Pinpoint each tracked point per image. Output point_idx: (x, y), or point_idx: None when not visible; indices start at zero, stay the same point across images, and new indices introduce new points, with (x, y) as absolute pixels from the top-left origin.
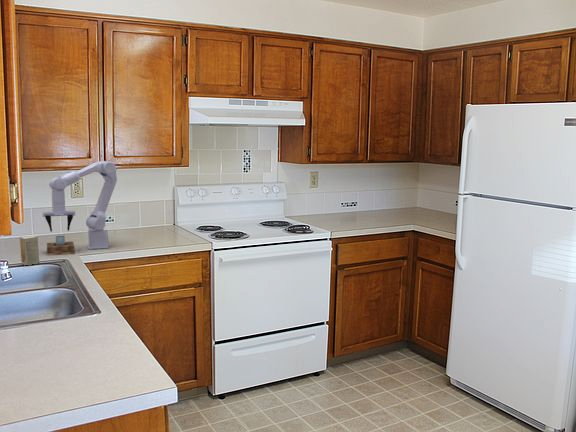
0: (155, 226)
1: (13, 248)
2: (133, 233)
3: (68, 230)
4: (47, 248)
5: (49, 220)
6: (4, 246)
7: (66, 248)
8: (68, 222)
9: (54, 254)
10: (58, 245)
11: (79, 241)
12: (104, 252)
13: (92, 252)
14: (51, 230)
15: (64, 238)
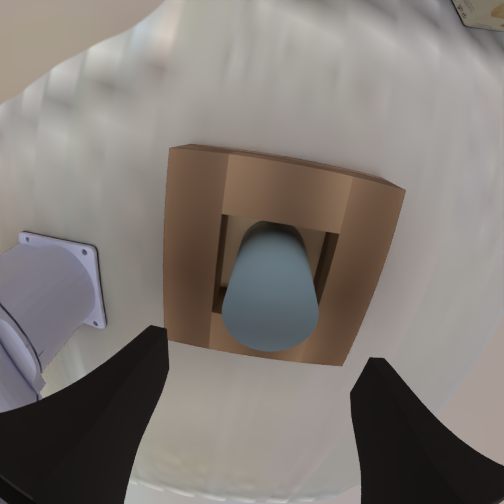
0: None
1: None
2: None
3: (155, 327)
4: (398, 187)
5: (466, 472)
6: None
7: (241, 153)
8: (93, 404)
9: (335, 167)
10: (295, 242)
11: (153, 426)
12: (38, 122)
13: (84, 143)
14: (380, 365)
15: (229, 284)
